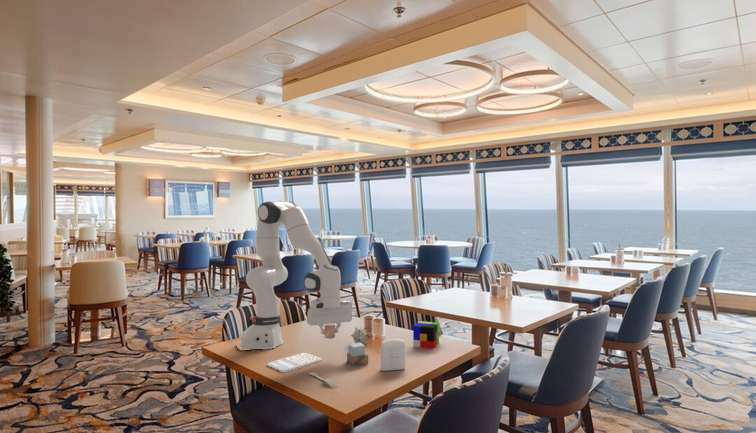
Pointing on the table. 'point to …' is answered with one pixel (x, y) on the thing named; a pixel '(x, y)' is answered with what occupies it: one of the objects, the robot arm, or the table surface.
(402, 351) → the photo printer
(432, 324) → the puzzle toy
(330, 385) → the fork
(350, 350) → the blue-grey cube
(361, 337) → the game die
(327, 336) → the terracotta capsule
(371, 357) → the table surface
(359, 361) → the walnut block
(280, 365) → the calculator
